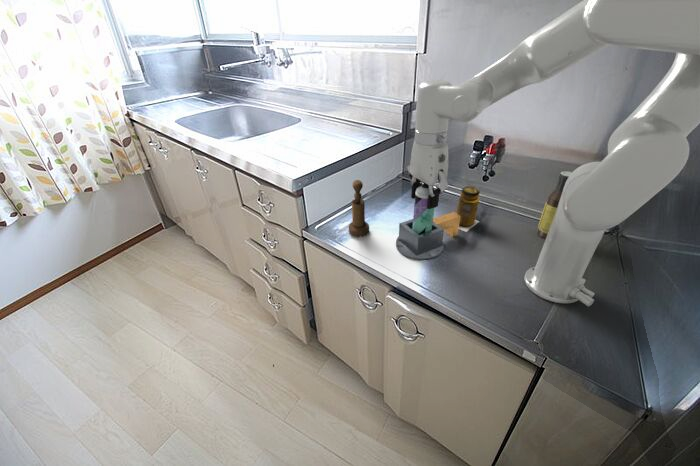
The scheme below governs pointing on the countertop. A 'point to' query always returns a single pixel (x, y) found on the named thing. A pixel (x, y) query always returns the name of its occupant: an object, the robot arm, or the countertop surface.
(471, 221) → the condiment
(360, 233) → the brown wooden tall piece
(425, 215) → the spray can
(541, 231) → the sauce bottle
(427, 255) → the grey square saucepan
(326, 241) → the countertop surface
